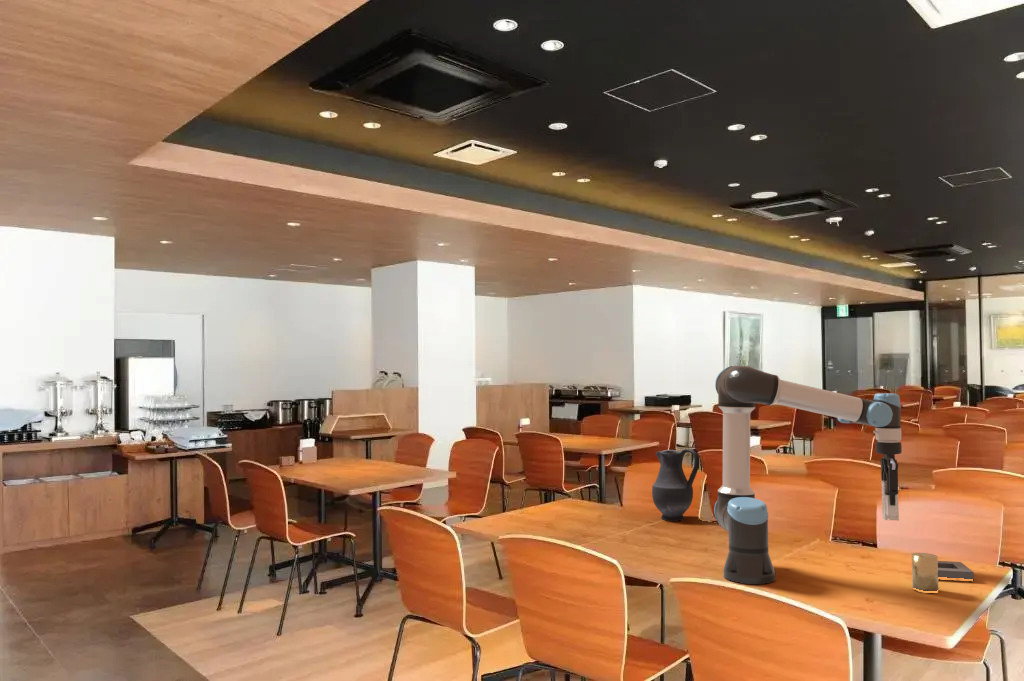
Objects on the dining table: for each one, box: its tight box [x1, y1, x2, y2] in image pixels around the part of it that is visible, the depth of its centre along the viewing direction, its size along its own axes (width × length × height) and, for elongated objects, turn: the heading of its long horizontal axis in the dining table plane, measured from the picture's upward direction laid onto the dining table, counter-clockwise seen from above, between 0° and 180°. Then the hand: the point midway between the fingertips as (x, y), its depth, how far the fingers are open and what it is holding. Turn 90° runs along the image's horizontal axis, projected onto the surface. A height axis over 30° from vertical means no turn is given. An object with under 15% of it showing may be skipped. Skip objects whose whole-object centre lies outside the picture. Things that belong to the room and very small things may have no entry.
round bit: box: [911, 552, 940, 591], centre depth 215 cm, size 6×6×10 cm
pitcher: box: [651, 448, 700, 522], centre depth 319 cm, size 17×21×30 cm
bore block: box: [938, 560, 975, 580], centre depth 229 cm, size 12×12×3 cm
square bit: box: [880, 480, 900, 521], centre depth 242 cm, size 4×4×12 cm
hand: (890, 513), depth 242 cm, fingers closed on square bit, 4 cm apart
